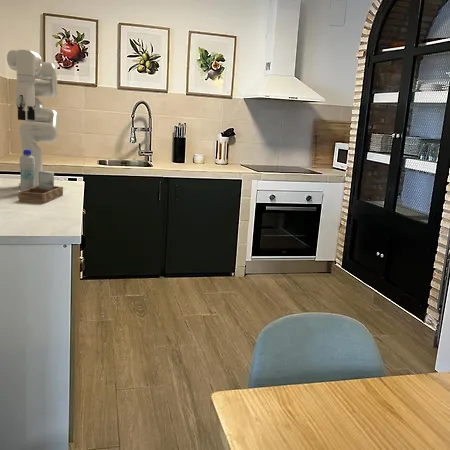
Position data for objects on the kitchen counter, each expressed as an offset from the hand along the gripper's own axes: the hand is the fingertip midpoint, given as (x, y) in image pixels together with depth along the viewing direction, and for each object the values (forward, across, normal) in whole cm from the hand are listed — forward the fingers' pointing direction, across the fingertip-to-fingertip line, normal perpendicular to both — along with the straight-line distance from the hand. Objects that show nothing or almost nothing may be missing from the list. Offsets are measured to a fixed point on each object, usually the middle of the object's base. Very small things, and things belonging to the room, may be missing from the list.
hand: (26, 119), depth 223 cm
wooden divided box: (+33, +9, +10) cm, 36 cm away
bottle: (+33, 0, 0) cm, 33 cm away
